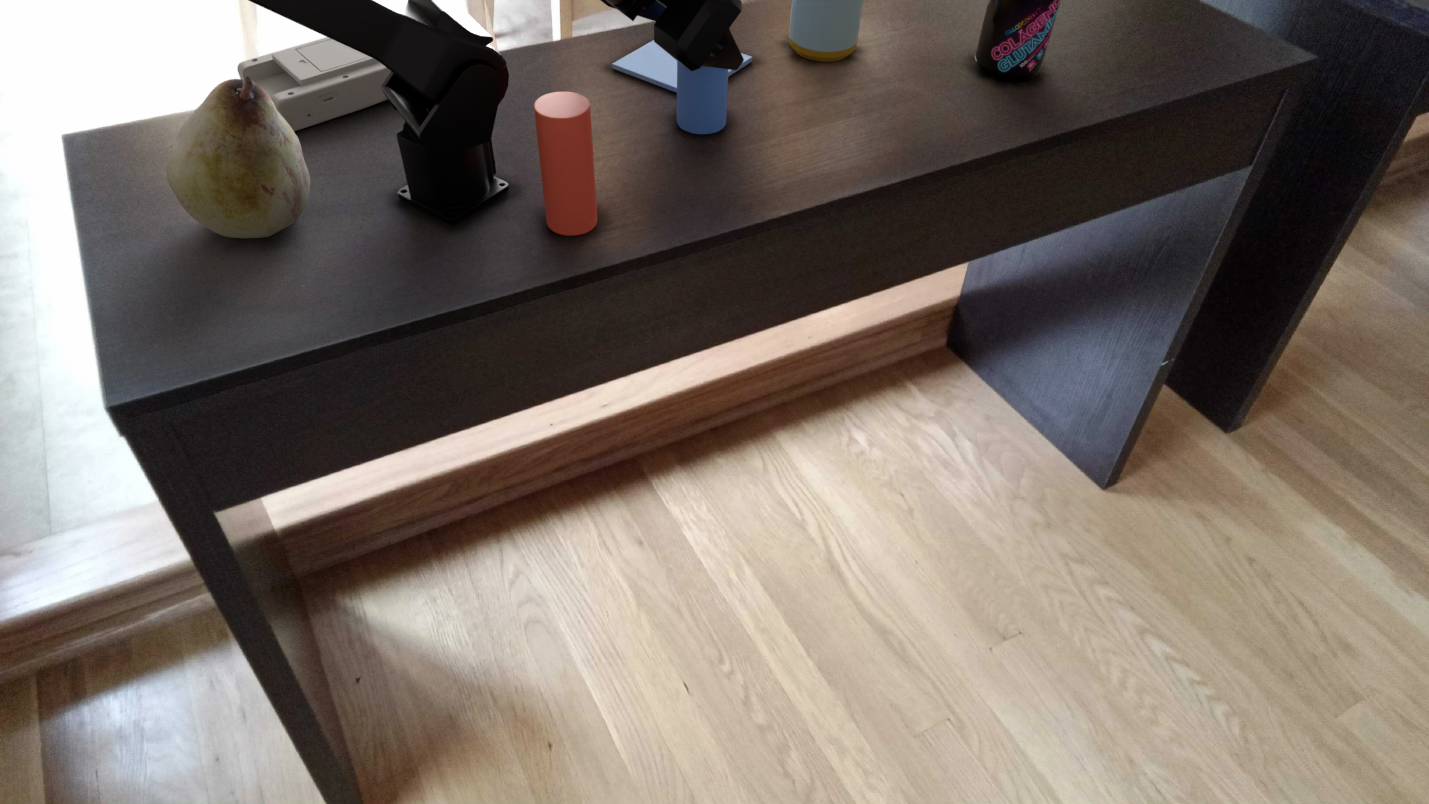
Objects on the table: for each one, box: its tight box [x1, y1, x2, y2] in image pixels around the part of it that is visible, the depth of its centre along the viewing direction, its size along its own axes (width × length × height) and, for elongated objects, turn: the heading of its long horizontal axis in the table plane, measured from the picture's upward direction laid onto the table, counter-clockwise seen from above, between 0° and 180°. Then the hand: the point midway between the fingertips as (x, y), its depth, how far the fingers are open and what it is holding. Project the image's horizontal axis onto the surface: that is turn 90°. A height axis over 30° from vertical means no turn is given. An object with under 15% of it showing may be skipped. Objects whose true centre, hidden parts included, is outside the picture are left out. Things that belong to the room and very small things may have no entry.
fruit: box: [165, 76, 311, 239], centre depth 69 cm, size 10×9×12 cm
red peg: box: [533, 91, 598, 237], centre depth 72 cm, size 4×4×10 cm
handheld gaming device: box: [236, 36, 391, 132], centre depth 87 cm, size 9×15×4 cm, turn 131°
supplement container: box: [974, 0, 1062, 83], centre depth 93 cm, size 7×7×10 cm
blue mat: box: [611, 39, 753, 94], centre depth 94 cm, size 10×10×1 cm
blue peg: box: [676, 27, 731, 135], centre depth 83 cm, size 4×4×10 cm
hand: (709, 43), depth 82 cm, fingers open, 9 cm apart
